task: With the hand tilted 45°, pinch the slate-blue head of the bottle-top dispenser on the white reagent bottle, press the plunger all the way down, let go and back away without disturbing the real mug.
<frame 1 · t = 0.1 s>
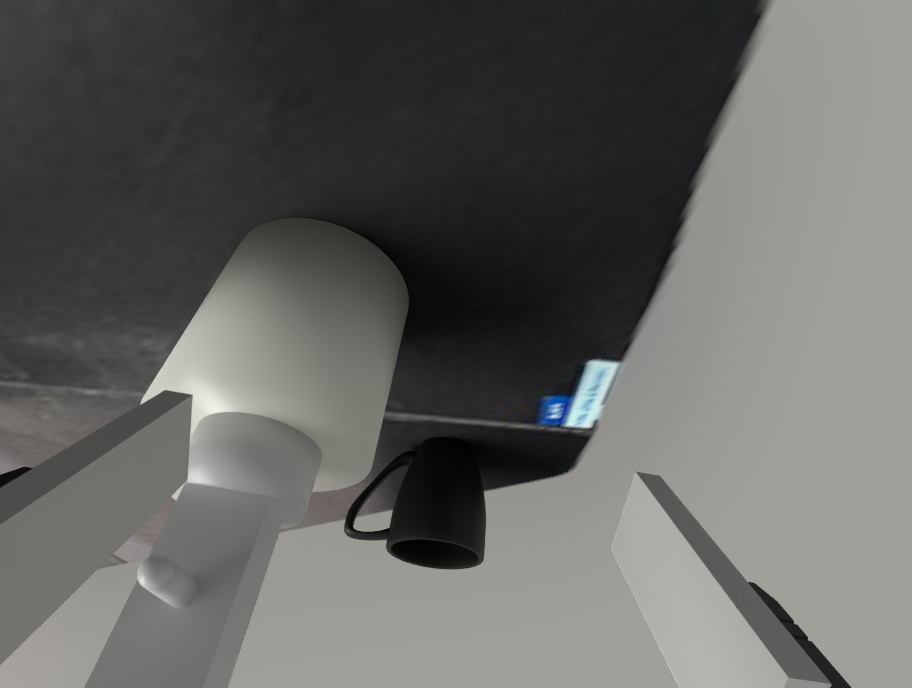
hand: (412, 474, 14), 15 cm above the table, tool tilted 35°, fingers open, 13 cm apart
mug: (428, 446, 45), on the table
reagent bottle: (323, 290, 30), on the table
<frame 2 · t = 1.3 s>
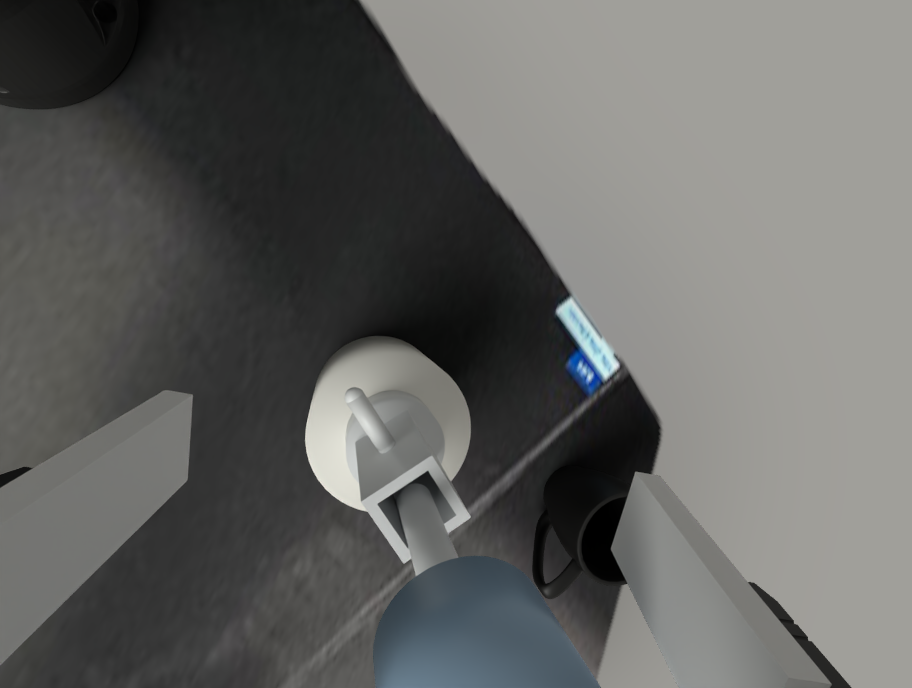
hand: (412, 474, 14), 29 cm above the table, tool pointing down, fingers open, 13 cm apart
plunger: (444, 585, 16), point 28 cm above the table, slide at 6.0 cm
mug: (553, 502, 48), on the table
reagent bottle: (378, 397, 42), on the table
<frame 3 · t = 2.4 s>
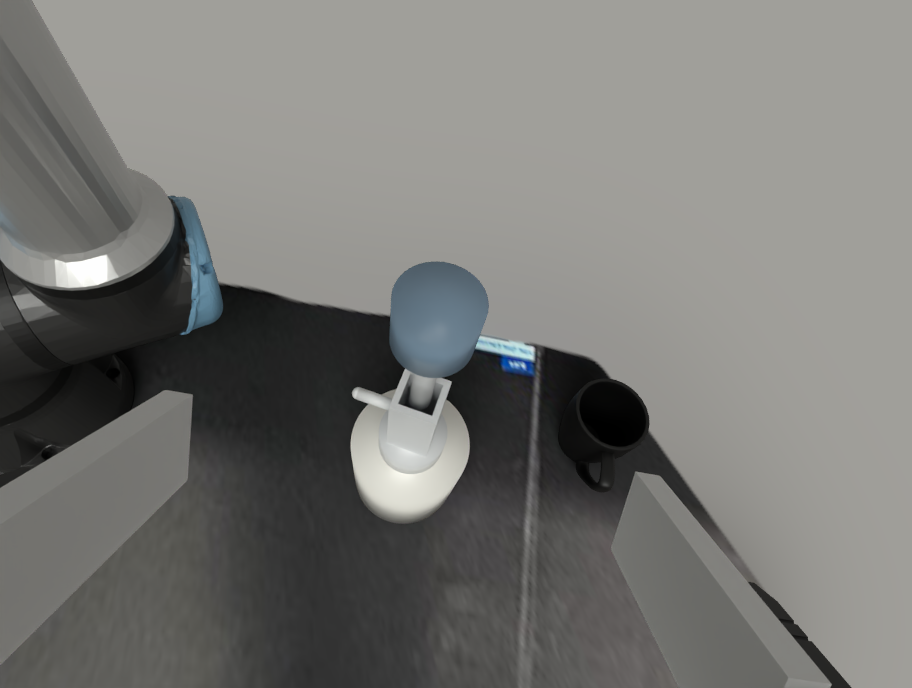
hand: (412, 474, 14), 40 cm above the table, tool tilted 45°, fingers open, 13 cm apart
plunger: (428, 359, 30), point 28 cm above the table, slide at 6.0 cm
mug: (577, 455, 58), on the table
reagent bottle: (404, 472, 53), on the table
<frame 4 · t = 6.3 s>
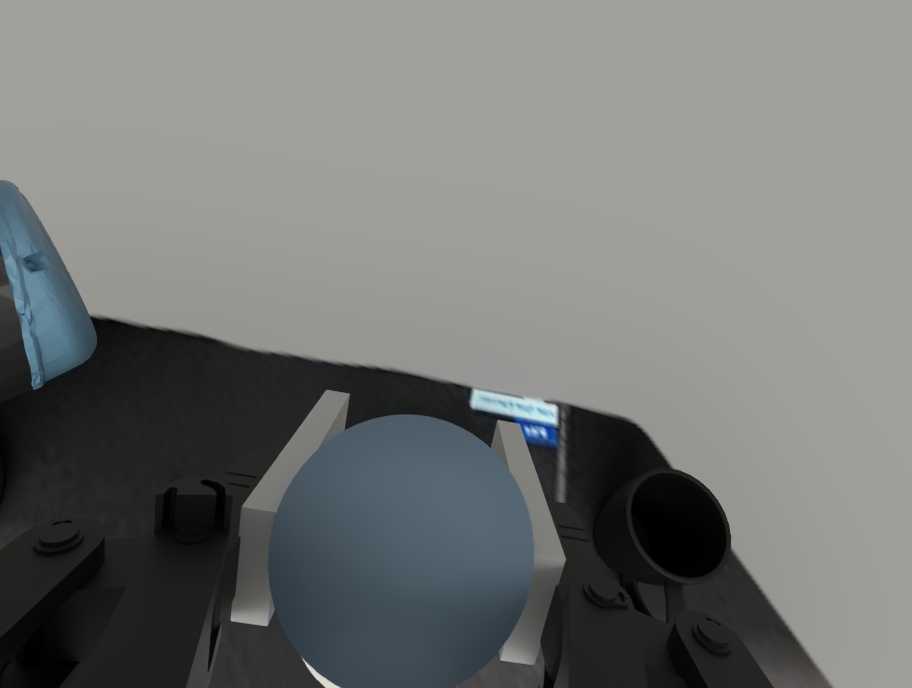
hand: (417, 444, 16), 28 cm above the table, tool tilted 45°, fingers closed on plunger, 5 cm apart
plunger: (394, 568, 15), point 27 cm above the table, slide at 6.0 cm, touching gripper
mug: (619, 562, 42), on the table
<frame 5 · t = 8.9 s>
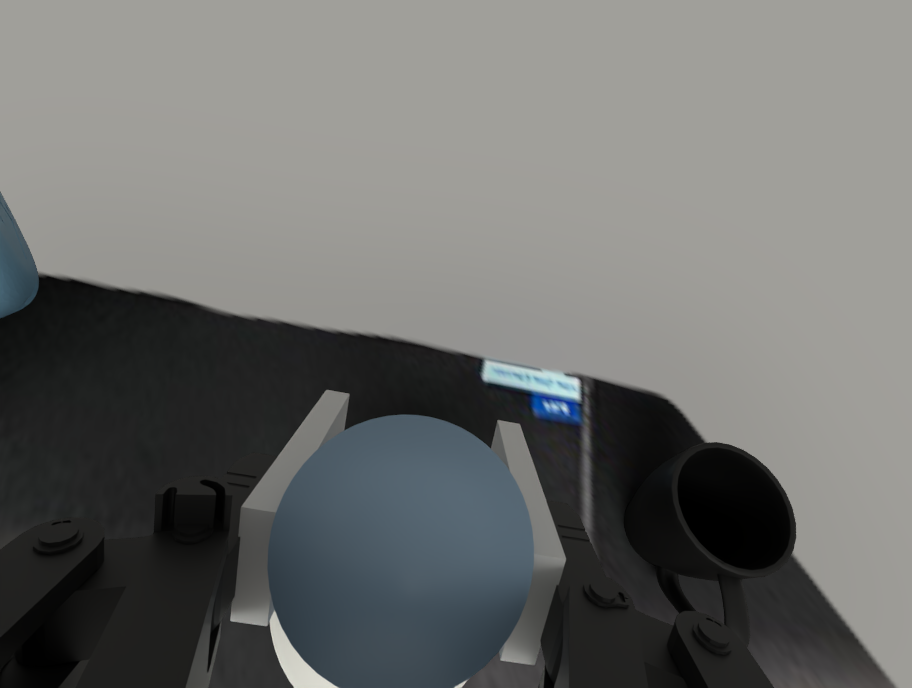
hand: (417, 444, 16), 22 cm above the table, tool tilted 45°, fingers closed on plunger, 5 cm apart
plunger: (394, 568, 15), point 21 cm above the table, slide at -0.4 cm, touching gripper
mug: (655, 554, 37), on the table
reagent bottle: (383, 595, 33), on the table
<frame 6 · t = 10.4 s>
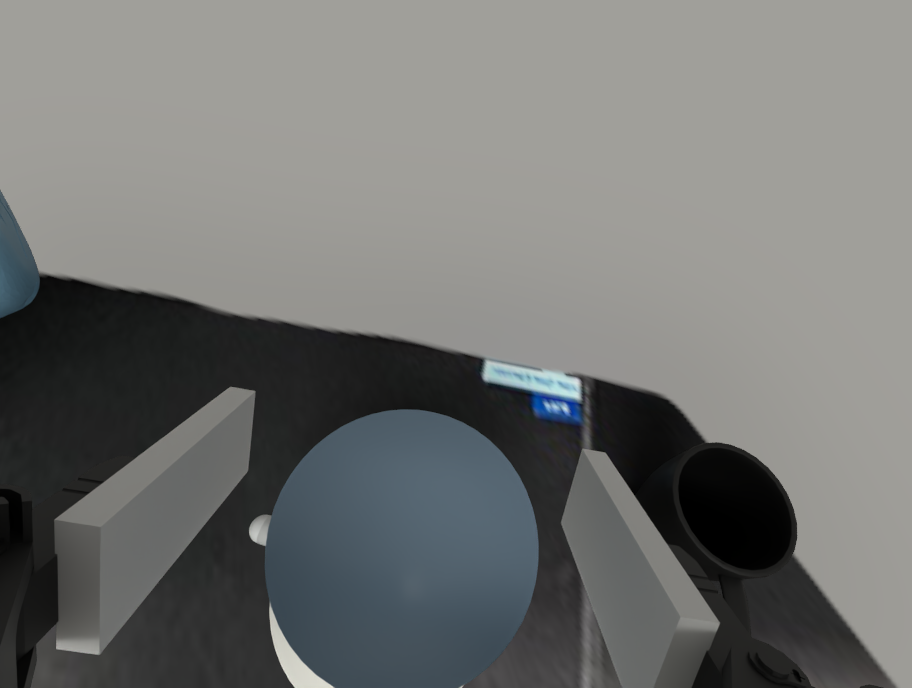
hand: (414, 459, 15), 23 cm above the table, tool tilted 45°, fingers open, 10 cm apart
plunger: (395, 567, 14), point 21 cm above the table, slide at -0.1 cm
mug: (655, 554, 37), on the table
reagent bottle: (384, 595, 33), on the table
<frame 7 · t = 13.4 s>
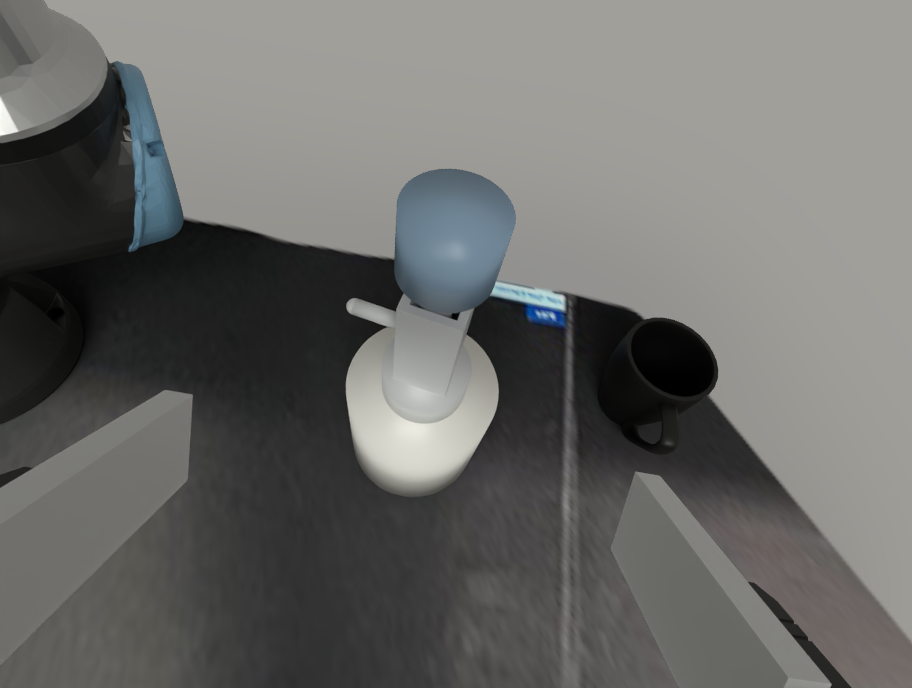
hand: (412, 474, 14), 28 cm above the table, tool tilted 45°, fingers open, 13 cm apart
plunger: (439, 300, 25), point 21 cm above the table, slide at -0.1 cm
mug: (621, 418, 48), on the table
reagent bottle: (414, 435, 44), on the table
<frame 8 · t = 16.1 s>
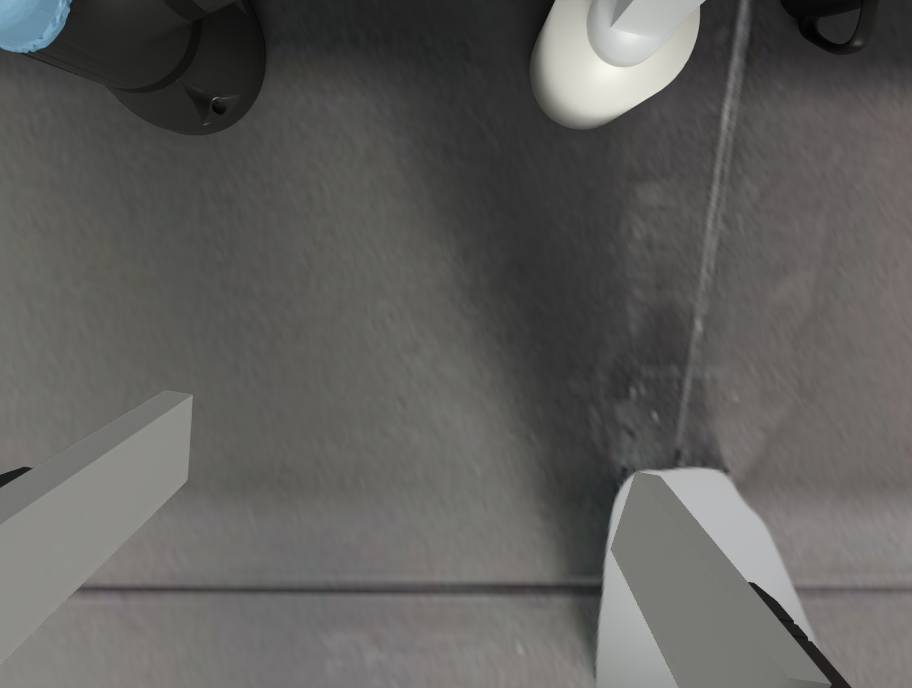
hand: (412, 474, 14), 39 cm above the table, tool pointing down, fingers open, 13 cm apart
mug: (800, 10, 45), on the table
reagent bottle: (585, 68, 46), on the table
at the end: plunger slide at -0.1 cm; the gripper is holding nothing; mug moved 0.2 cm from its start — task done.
